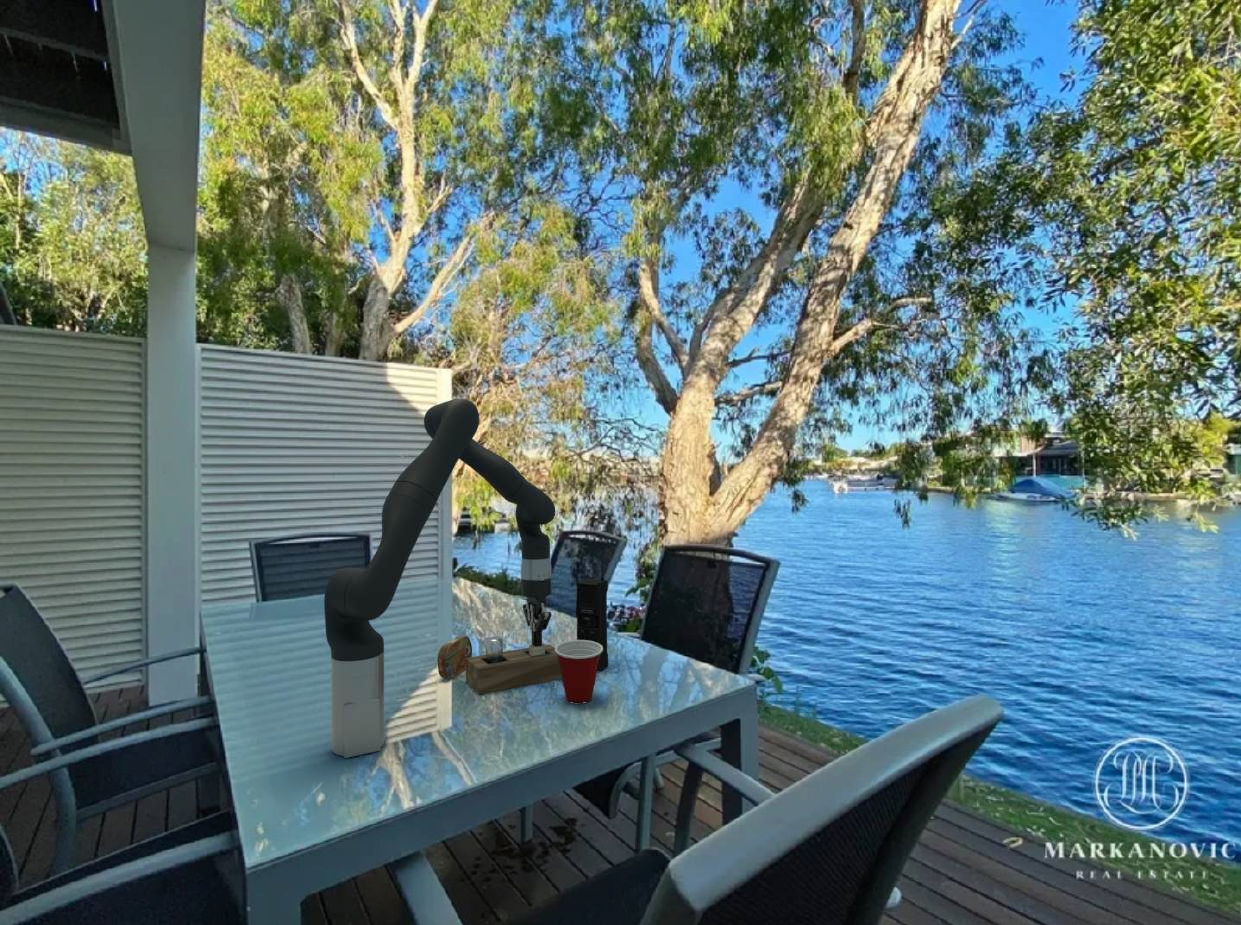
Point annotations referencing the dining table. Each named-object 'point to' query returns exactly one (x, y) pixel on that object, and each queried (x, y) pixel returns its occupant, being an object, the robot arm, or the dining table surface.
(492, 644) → the steel peg
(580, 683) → the plastic cup
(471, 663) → the collar block
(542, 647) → the birch peg
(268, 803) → the dining table surface
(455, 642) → the tin
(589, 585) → the portable radio
